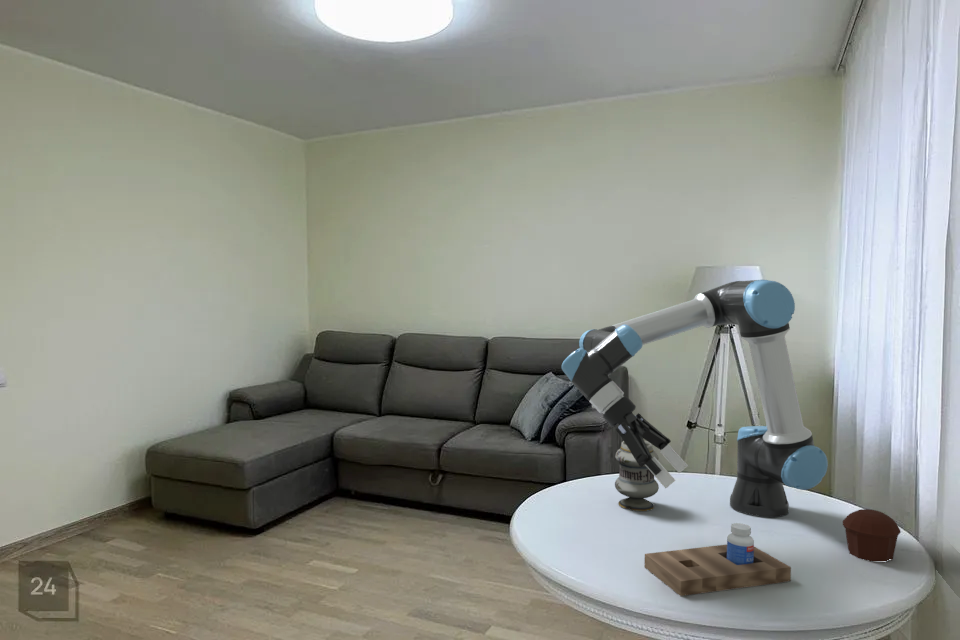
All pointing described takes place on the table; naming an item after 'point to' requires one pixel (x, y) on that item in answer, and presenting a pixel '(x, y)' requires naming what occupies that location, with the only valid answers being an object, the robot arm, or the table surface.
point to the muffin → (871, 535)
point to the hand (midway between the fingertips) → (677, 476)
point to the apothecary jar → (635, 480)
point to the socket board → (713, 570)
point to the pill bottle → (740, 544)
